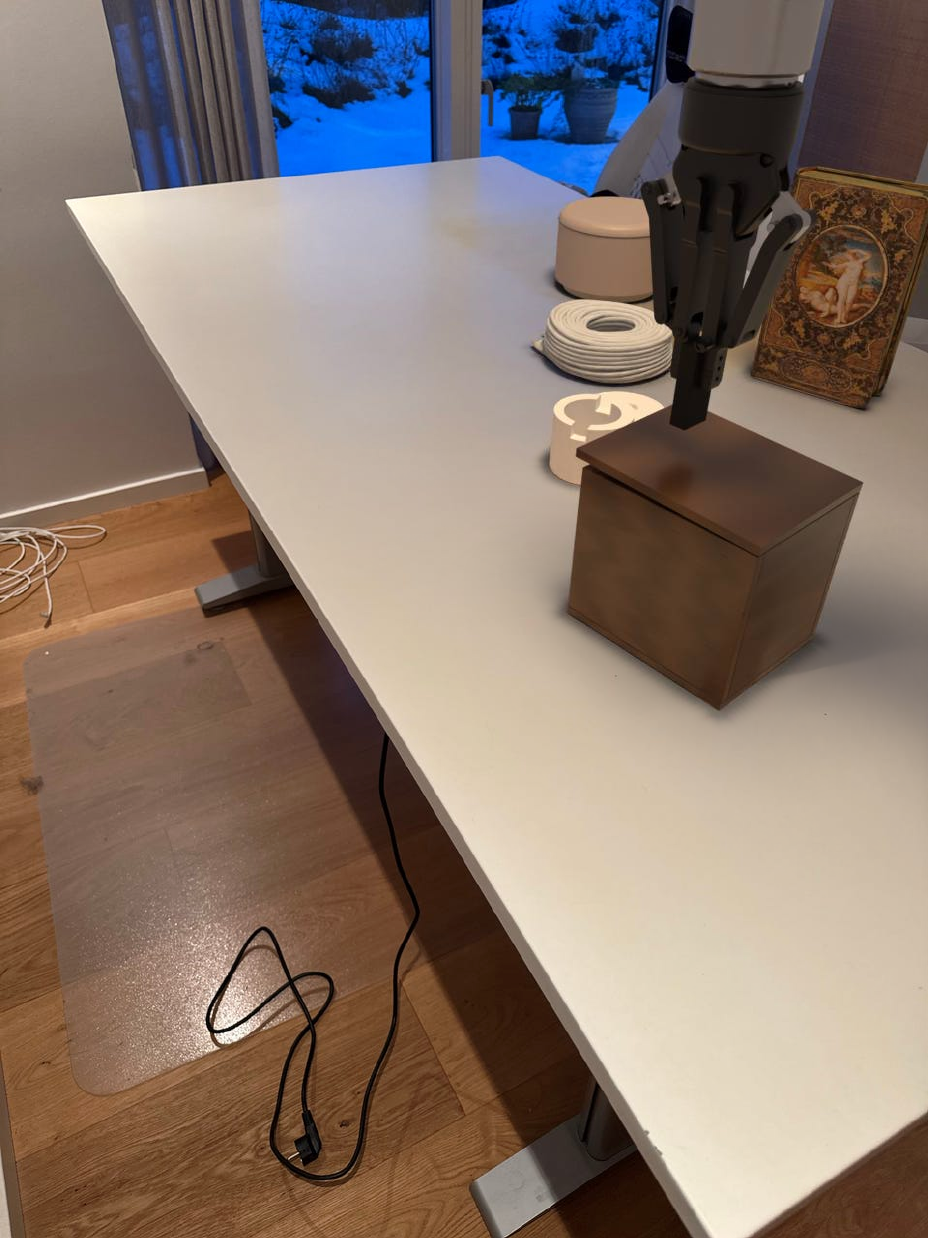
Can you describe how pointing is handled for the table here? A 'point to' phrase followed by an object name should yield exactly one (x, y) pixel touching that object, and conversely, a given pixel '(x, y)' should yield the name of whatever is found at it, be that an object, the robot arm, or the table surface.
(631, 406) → the bracket
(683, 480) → the lid
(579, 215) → the container
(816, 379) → the book
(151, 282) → the table surface
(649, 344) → the cable
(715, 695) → the bin
